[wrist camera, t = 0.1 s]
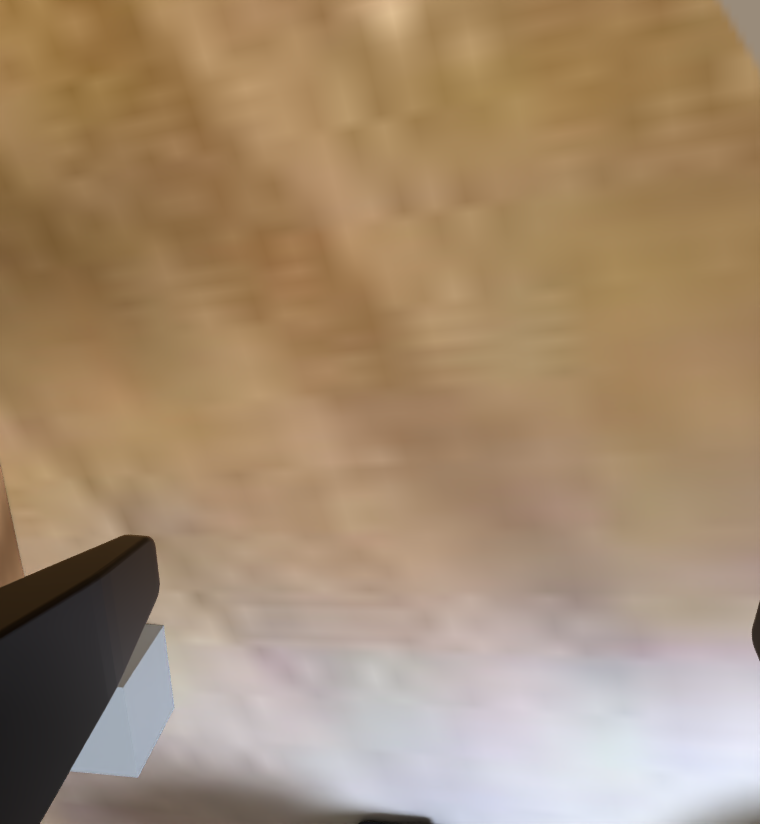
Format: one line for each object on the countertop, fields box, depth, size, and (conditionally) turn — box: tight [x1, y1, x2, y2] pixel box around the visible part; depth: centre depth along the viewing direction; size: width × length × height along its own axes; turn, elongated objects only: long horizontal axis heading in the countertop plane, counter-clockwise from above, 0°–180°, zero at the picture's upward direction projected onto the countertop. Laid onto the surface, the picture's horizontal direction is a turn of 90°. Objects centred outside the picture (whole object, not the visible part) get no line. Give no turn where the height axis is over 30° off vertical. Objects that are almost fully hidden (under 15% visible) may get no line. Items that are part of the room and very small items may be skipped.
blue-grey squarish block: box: [70, 624, 174, 778], centre depth 27 cm, size 5×5×4 cm
